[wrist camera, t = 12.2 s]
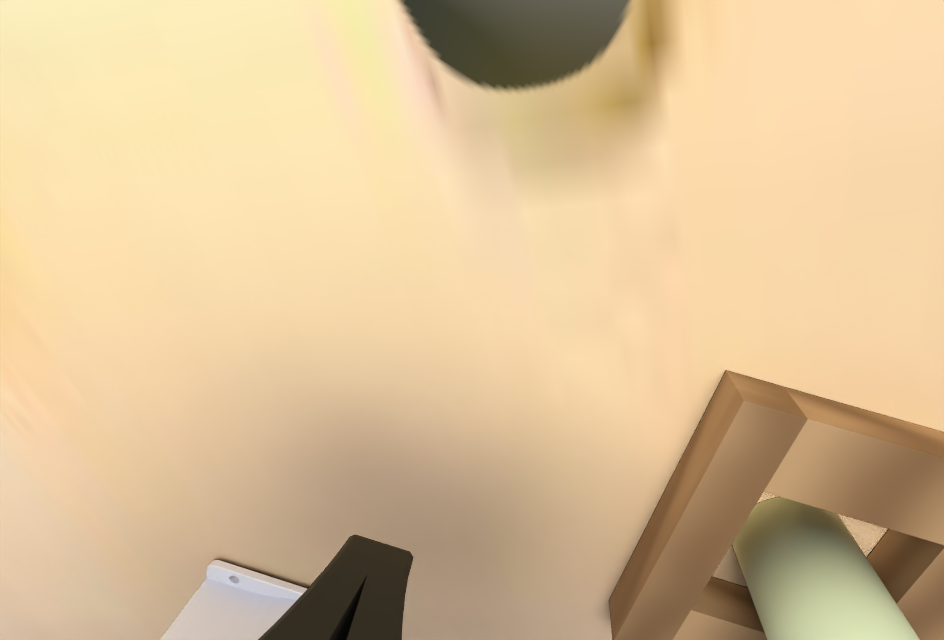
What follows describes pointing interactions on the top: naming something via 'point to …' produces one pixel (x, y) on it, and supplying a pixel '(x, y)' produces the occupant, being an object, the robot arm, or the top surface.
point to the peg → (813, 577)
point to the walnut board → (793, 477)
